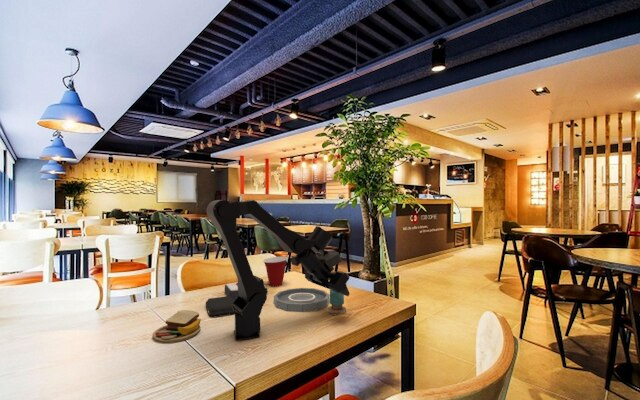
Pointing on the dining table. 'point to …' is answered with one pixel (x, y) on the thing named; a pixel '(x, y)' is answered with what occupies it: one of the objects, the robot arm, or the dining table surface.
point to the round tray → (301, 299)
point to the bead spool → (336, 303)
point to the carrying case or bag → (220, 306)
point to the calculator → (233, 290)
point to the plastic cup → (275, 270)
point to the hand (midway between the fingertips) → (340, 291)
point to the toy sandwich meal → (179, 327)
